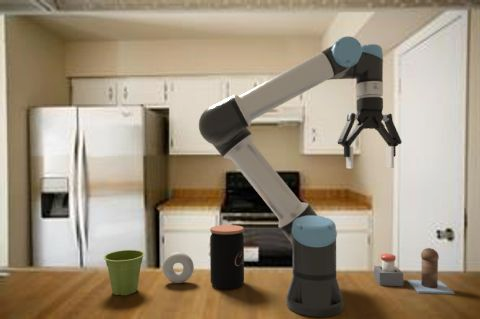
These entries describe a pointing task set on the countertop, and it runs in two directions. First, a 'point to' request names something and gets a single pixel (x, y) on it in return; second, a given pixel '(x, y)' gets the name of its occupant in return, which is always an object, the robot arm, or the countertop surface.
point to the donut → (178, 276)
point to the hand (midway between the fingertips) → (370, 168)
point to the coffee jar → (227, 256)
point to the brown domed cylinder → (429, 268)
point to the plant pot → (124, 270)
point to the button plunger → (388, 262)
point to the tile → (421, 289)
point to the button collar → (388, 277)
